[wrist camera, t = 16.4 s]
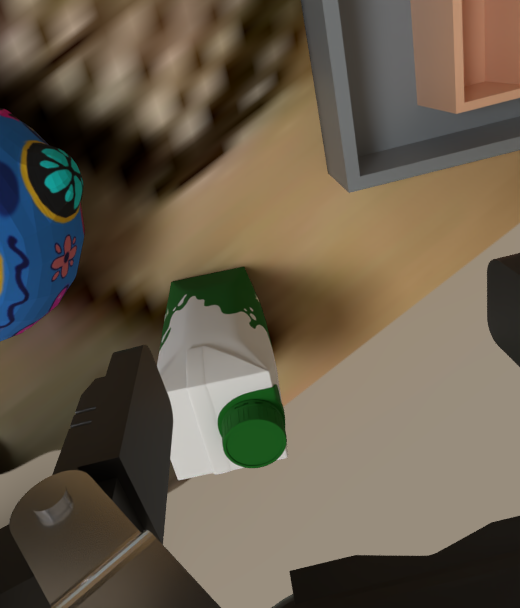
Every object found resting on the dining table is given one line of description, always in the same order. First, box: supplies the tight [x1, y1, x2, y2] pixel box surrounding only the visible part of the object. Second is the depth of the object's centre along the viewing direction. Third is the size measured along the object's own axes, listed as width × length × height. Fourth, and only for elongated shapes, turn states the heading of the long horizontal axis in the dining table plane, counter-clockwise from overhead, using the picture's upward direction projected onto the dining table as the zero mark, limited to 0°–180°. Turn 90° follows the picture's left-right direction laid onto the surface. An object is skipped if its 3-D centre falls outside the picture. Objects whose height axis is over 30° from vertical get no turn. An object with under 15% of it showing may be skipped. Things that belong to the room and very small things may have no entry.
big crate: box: [301, 0, 520, 193], centre depth 36 cm, size 18×22×7 cm
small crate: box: [410, 0, 520, 114], centre depth 35 cm, size 10×6×7 cm, turn 13°
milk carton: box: [157, 267, 288, 480], centre depth 39 cm, size 9×9×20 cm
